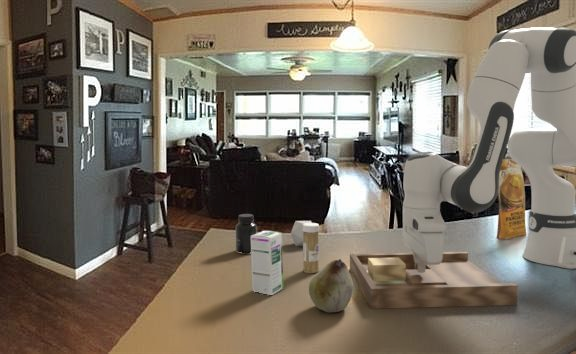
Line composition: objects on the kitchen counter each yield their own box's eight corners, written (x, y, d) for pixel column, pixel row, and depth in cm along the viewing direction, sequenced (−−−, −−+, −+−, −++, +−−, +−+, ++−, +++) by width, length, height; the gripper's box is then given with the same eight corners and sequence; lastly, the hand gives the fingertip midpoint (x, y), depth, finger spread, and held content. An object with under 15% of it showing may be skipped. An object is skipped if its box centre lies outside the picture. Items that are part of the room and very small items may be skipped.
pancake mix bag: (485, 237, 161) (488, 159, 158) (515, 230, 171) (519, 156, 168) (502, 241, 156) (506, 160, 152) (533, 233, 166) (537, 157, 163)
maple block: (398, 272, 117) (398, 257, 116) (405, 280, 111) (405, 264, 110) (367, 273, 116) (368, 258, 116) (373, 281, 110) (373, 265, 110)
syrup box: (271, 296, 108) (271, 237, 106) (251, 292, 111) (250, 234, 109) (283, 288, 113) (283, 232, 111) (263, 285, 116) (262, 229, 114)
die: (308, 251, 148) (323, 225, 150) (284, 237, 149) (299, 212, 151) (306, 254, 156) (321, 229, 158) (284, 240, 157) (299, 216, 159)
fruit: (339, 322, 93) (340, 266, 92) (300, 312, 98) (300, 259, 97) (359, 305, 102) (359, 253, 101) (322, 297, 107) (322, 247, 106)
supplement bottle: (231, 253, 144) (231, 216, 143) (242, 247, 150) (241, 212, 149) (251, 255, 142) (250, 218, 140) (260, 249, 148) (260, 213, 147)
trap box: (465, 267, 128) (465, 251, 128) (516, 304, 101) (517, 285, 101) (349, 269, 127) (349, 254, 126) (371, 308, 100) (371, 289, 100)
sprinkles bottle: (316, 274, 123) (316, 226, 122) (300, 273, 125) (300, 225, 123) (320, 269, 127) (320, 222, 126) (305, 268, 129) (304, 221, 127)
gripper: (397, 209, 123) (396, 258, 124) (421, 227, 102) (420, 285, 104) (419, 208, 123) (419, 258, 125) (449, 226, 103) (447, 284, 104)
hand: (419, 270), depth 114 cm, fingers closed
